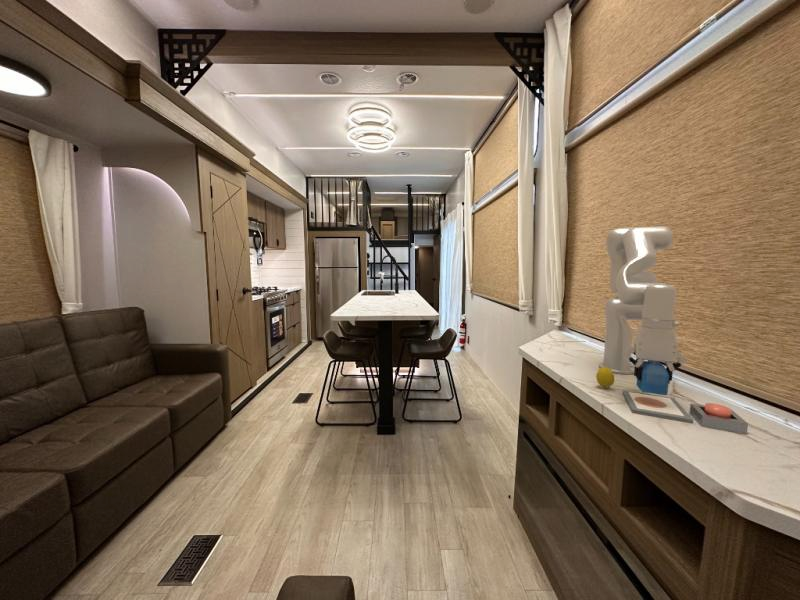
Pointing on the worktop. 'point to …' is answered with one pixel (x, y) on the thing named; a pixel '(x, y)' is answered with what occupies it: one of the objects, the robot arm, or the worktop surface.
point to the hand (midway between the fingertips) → (652, 380)
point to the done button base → (718, 420)
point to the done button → (717, 410)
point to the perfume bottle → (653, 378)
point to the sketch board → (656, 406)
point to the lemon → (605, 377)
